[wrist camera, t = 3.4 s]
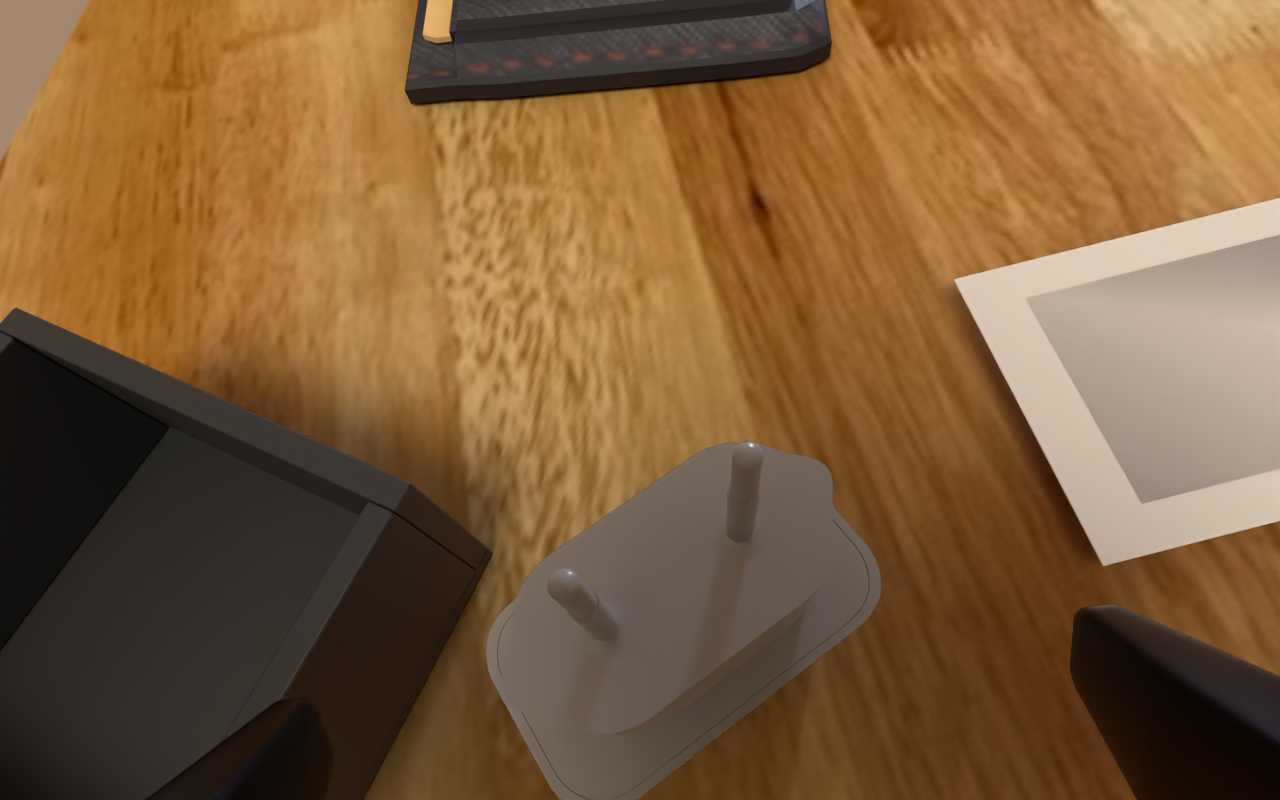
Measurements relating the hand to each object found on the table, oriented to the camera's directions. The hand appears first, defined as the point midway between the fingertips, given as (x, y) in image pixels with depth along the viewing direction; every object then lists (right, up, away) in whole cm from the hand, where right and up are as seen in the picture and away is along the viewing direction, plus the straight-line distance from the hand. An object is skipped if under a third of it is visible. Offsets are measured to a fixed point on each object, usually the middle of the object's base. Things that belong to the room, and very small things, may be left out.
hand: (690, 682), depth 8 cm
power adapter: (+1, -3, +8) cm, 9 cm away
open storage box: (-11, -3, +9) cm, 15 cm away
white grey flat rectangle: (+16, +4, +10) cm, 19 cm away
